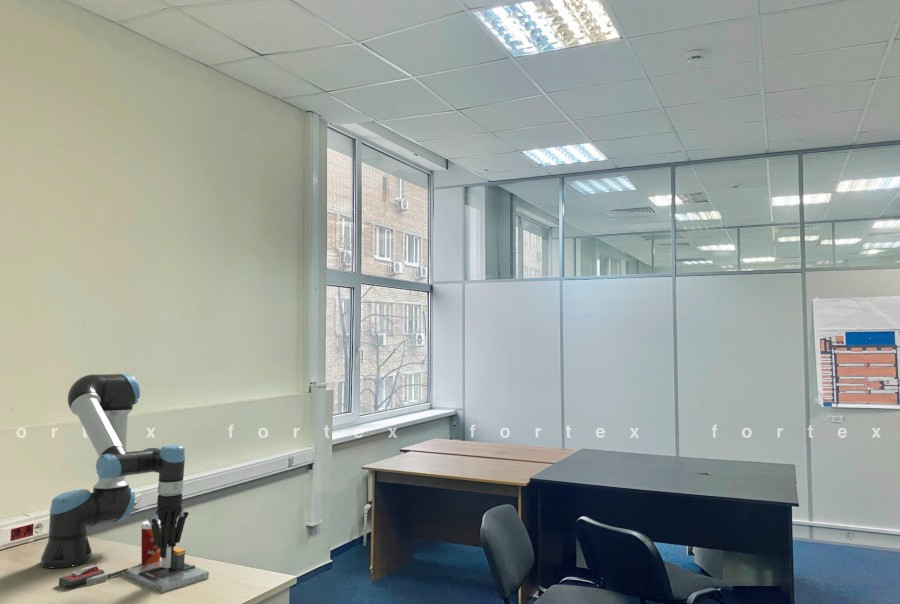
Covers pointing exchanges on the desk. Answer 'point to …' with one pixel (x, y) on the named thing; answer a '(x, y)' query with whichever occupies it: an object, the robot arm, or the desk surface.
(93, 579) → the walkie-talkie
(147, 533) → the paper cup
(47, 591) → the desk surface
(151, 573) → the console board
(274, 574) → the desk surface
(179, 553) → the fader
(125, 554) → the desk surface
